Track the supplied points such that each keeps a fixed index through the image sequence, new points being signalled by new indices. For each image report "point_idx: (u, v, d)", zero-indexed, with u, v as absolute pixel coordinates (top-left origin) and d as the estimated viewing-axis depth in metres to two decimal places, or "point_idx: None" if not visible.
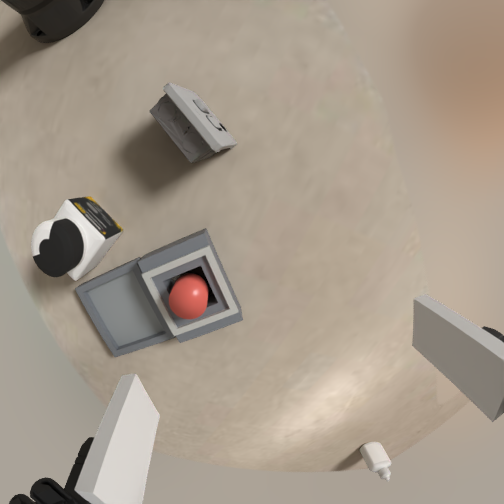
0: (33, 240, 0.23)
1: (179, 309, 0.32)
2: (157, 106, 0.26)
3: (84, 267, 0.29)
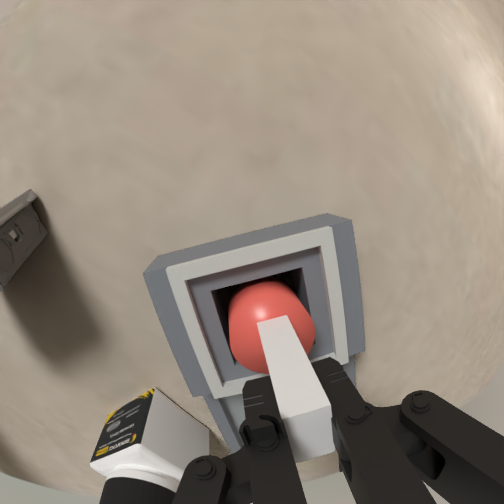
0: None
1: None
2: None
3: None
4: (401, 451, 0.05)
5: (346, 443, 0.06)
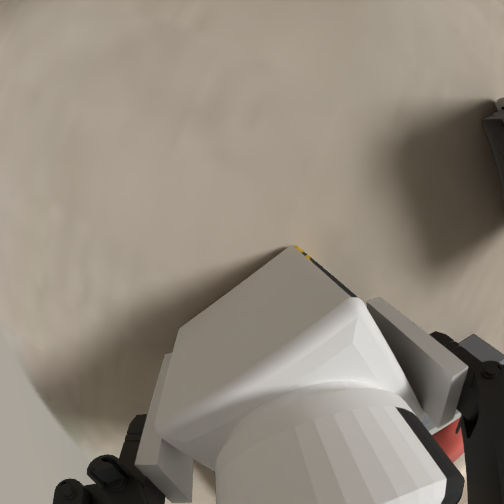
0: None
1: None
2: None
3: None
4: None
5: (480, 394, 0.05)
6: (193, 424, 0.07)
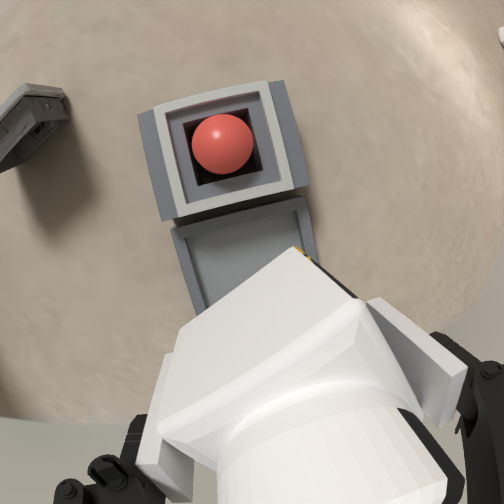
0: None
1: (233, 158, 0.20)
2: None
3: None
4: None
5: (480, 394, 0.05)
6: (194, 425, 0.07)
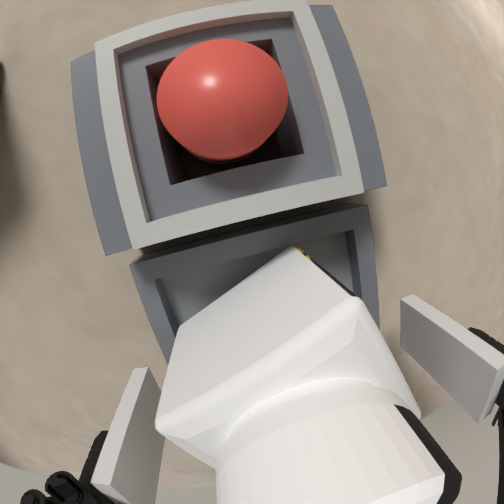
0: None
1: (245, 123, 0.09)
2: None
3: None
4: None
5: None
6: (194, 421, 0.07)
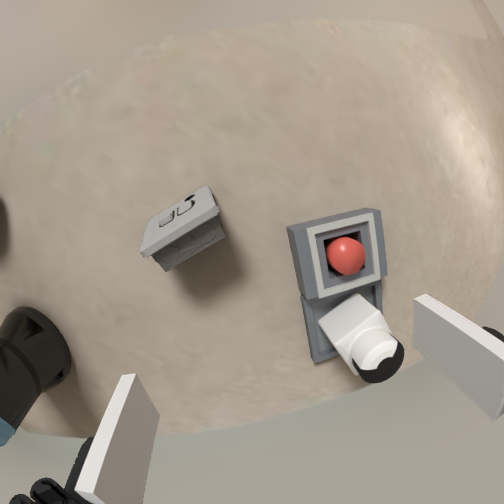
0: (373, 357, 0.28)
1: (354, 266, 0.34)
2: (162, 263, 0.29)
3: None
4: None
5: None
6: (345, 340, 0.32)
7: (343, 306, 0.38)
